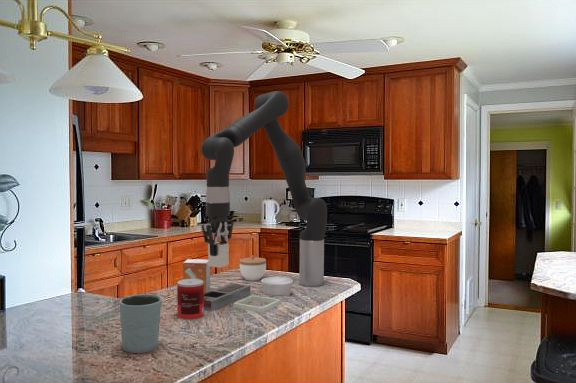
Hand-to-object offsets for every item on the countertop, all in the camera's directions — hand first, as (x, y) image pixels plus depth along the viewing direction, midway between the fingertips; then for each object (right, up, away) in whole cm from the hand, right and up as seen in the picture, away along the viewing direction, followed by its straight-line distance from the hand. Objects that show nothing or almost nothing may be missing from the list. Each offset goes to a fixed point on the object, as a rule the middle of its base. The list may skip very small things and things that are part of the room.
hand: (218, 254), depth 157 cm
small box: (-9, -17, +10) cm, 21 cm away
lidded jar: (+8, -15, +40) cm, 43 cm away
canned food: (-7, -18, -11) cm, 22 cm away
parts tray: (+12, -17, -1) cm, 21 cm away
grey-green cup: (-14, -19, -34) cm, 42 cm away
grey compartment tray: (0, -17, +4) cm, 17 cm away
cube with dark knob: (0, -4, 0) cm, 4 cm away
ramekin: (+18, -17, +16) cm, 30 cm away
